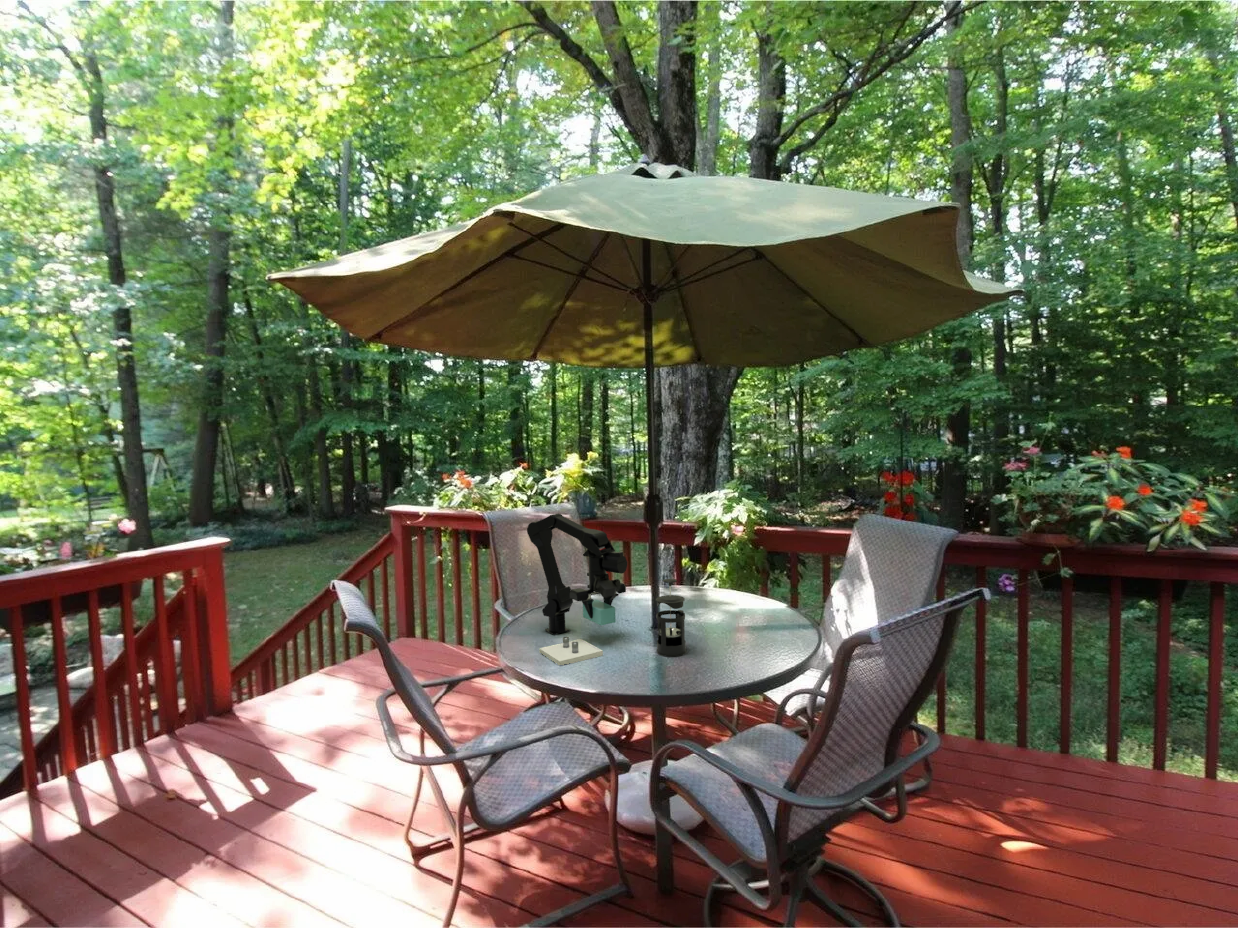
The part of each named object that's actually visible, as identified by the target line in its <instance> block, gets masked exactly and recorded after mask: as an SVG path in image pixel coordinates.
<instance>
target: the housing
mask: <svg viewBox="0 0 1238 928" xmlns="http://www.w3.org/2000/svg"><path fill="white" fill-rule="evenodd" d="M593 600H594V601H593V603H592V609H593V618H592V619H591V618H590V617H589V615H588V612H587V610H586V608H585V606H584V604H583V603H582V615H583V618H585V619H587V620H588V621H591V622H593V623H595V624H596V625H598V626H605V625H609V624H614V623H616V621H617V620H616V607H615V606H613V605H612V604H611V605H609V604H606V603H604V601H601V600H598V599H593Z"/></svg>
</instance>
